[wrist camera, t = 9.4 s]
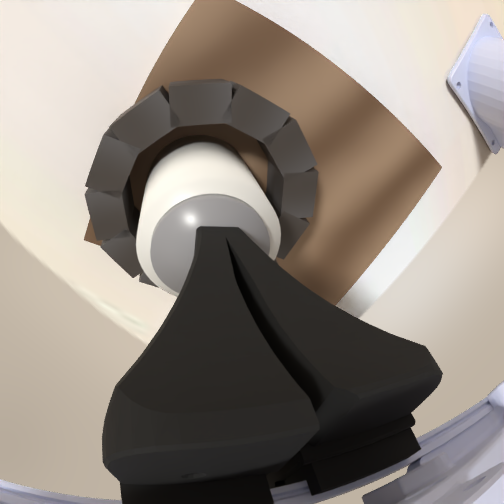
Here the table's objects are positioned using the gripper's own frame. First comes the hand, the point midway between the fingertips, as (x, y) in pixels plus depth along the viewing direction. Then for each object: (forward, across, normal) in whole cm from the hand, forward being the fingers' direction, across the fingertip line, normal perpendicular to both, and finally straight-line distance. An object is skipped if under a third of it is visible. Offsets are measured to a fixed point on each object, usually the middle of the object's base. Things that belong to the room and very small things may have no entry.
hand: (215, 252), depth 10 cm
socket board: (+7, -5, 0) cm, 8 cm away
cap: (+6, 0, 0) cm, 6 cm away
